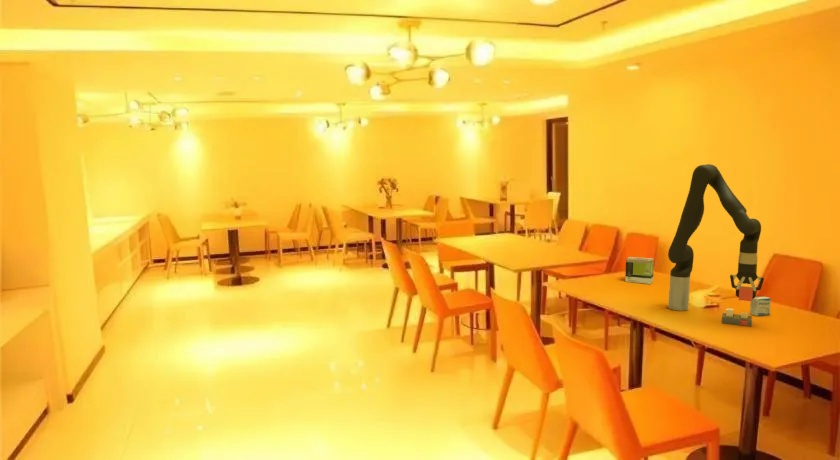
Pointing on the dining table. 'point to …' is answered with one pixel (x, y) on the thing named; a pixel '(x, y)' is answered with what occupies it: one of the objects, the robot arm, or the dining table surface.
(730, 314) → the breaker plain
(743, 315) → the breaker tagged
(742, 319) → the breaker panel
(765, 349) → the dining table surface
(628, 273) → the tea box
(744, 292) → the red block
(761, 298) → the medicine box
